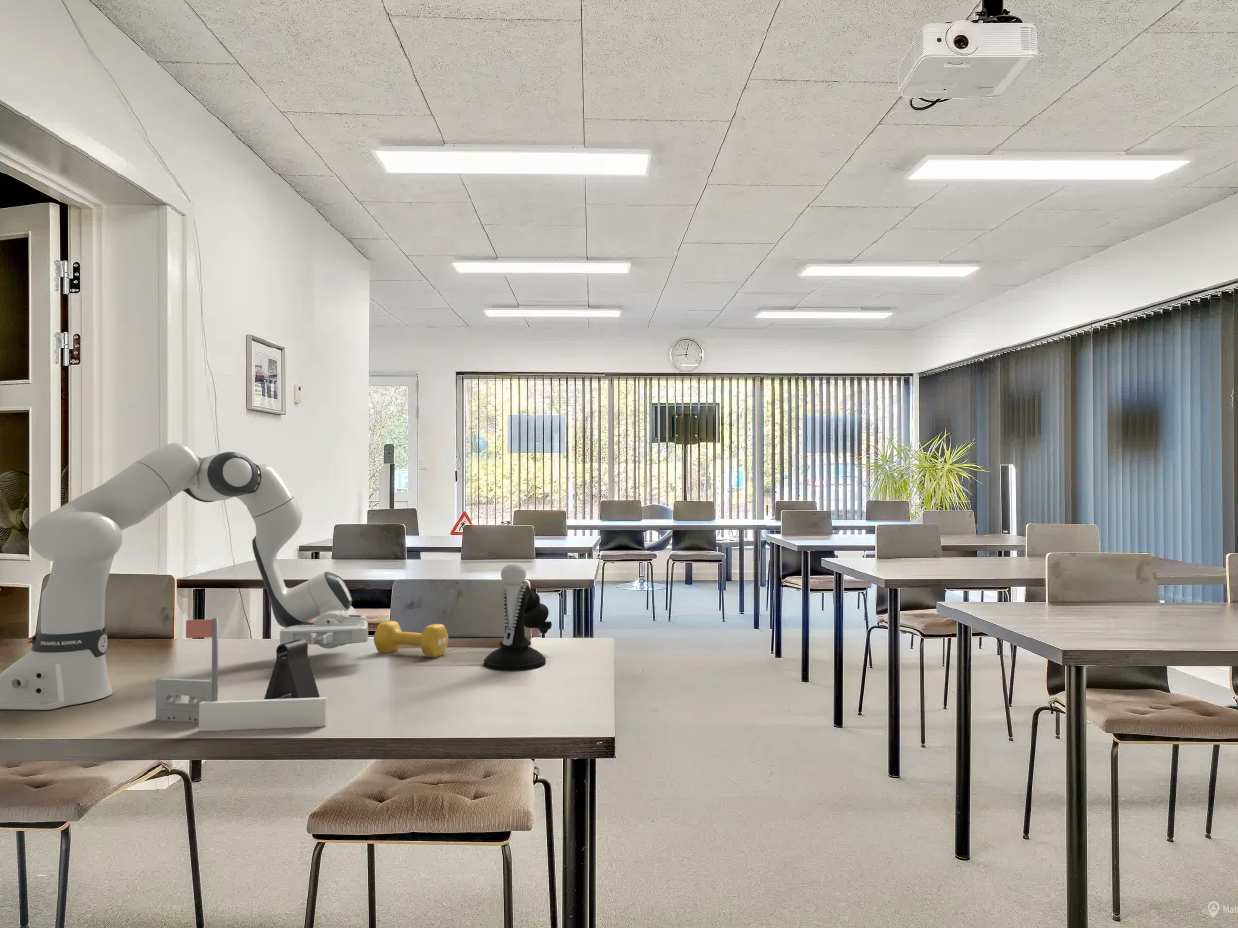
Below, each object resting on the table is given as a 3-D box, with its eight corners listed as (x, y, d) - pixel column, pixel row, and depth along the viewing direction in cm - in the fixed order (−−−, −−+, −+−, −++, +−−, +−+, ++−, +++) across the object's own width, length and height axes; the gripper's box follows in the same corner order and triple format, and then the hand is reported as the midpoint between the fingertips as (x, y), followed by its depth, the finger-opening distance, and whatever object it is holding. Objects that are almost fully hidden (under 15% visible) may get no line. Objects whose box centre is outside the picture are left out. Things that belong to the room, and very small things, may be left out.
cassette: (216, 720, 152) (217, 679, 153) (209, 723, 151) (210, 682, 151) (160, 717, 155) (161, 677, 155) (153, 720, 153) (153, 679, 153)
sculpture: (471, 667, 196) (472, 564, 196) (520, 648, 218) (520, 556, 218) (527, 673, 190) (527, 566, 191) (571, 653, 212) (570, 558, 212)
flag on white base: (181, 731, 145) (182, 620, 146) (209, 710, 159) (210, 608, 159) (325, 726, 149) (326, 617, 149) (341, 705, 162) (341, 606, 163)
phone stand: (319, 698, 168) (320, 640, 168) (300, 705, 162) (300, 645, 163) (284, 694, 171) (284, 637, 171) (263, 702, 165) (264, 643, 166)
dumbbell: (451, 653, 212) (451, 622, 213) (431, 660, 204) (431, 628, 204) (391, 648, 219) (391, 618, 219) (370, 655, 211) (370, 623, 211)
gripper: (287, 618, 200) (271, 628, 187) (372, 615, 203) (362, 625, 190) (287, 643, 200) (271, 656, 187) (372, 640, 203) (362, 652, 189)
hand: (318, 640), depth 188 cm, fingers closed
